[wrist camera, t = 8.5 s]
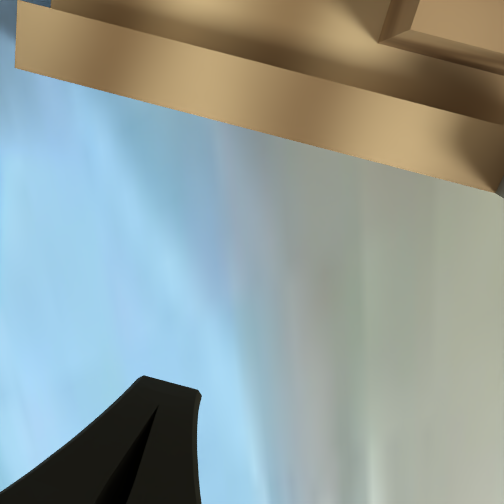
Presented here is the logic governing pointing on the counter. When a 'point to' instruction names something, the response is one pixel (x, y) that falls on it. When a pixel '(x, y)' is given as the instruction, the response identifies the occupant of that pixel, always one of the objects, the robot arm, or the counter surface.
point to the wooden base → (280, 76)
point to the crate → (449, 31)
